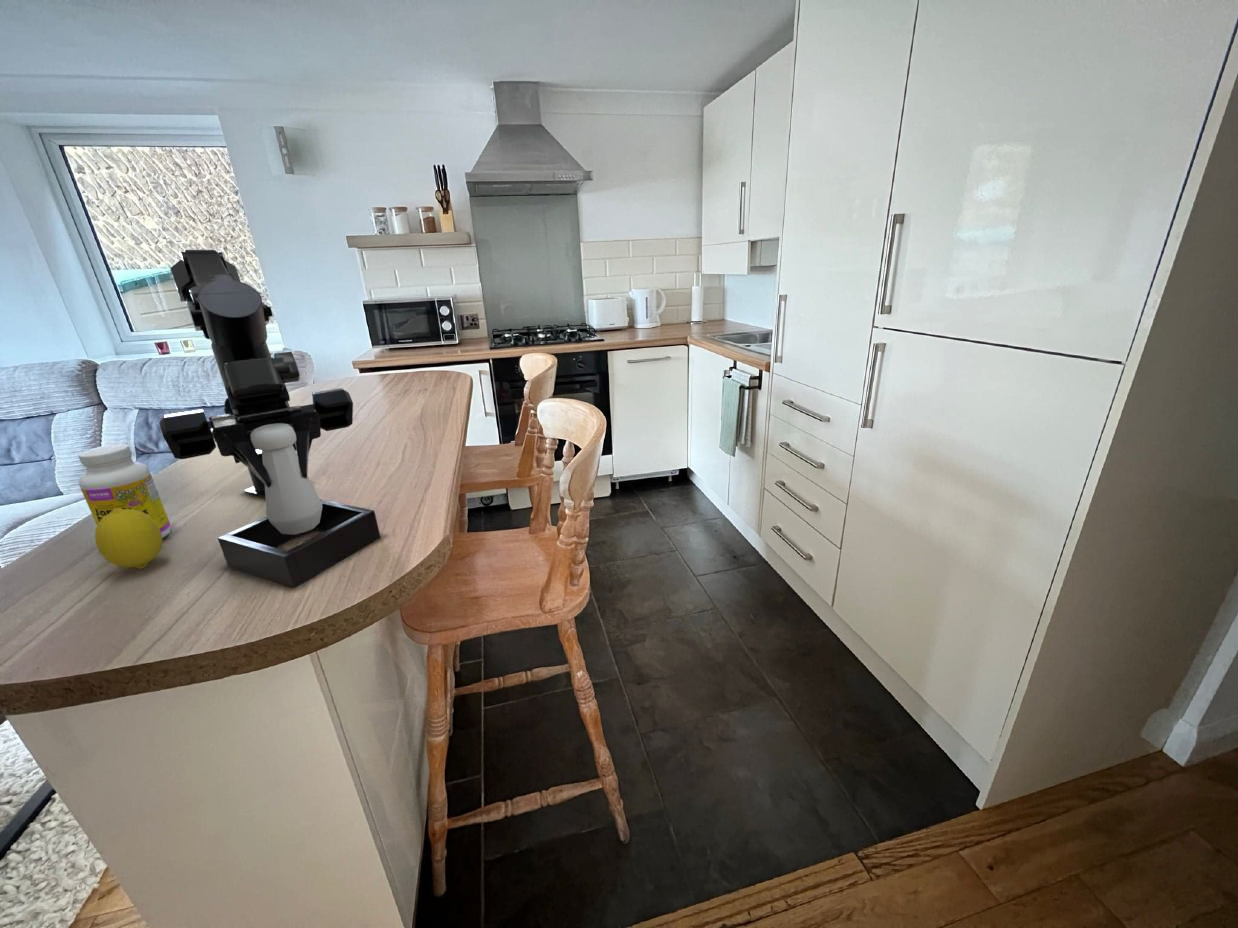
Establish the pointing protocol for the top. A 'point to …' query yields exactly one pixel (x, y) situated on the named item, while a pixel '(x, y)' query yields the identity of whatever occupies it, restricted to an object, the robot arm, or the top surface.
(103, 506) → the supplement bottle
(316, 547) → the black rectangular open frame
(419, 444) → the top surface
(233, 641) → the top surface
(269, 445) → the salt shaker
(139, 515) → the lemon
